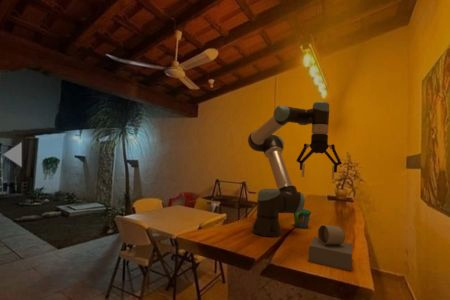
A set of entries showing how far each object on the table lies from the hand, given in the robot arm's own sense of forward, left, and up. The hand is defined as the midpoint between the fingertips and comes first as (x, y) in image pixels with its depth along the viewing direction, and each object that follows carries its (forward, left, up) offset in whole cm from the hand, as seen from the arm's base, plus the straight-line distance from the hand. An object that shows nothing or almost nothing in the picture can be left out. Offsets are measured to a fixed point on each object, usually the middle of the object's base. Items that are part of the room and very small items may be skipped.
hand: (317, 178), depth 120 cm
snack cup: (-12, +33, -32) cm, 47 cm away
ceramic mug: (+7, -14, -26) cm, 30 cm away
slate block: (+8, -15, -32) cm, 36 cm away
